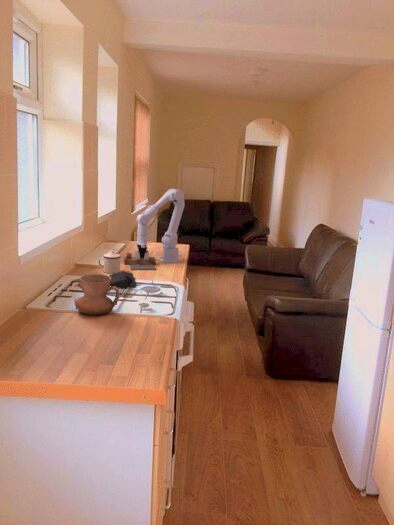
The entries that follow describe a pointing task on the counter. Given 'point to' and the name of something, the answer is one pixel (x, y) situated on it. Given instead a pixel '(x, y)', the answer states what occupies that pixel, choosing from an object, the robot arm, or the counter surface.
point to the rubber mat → (142, 267)
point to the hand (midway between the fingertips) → (141, 257)
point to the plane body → (138, 260)
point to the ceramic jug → (95, 294)
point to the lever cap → (146, 257)
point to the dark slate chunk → (122, 280)
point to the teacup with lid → (111, 262)
